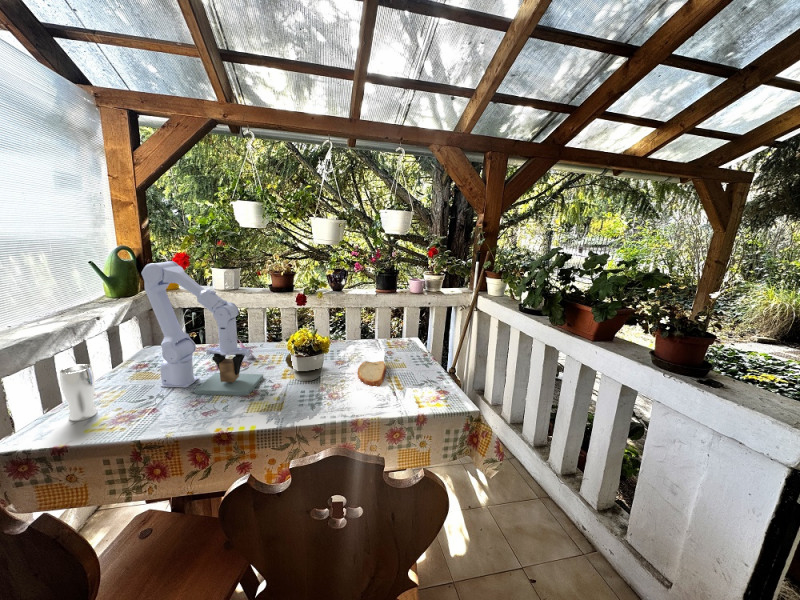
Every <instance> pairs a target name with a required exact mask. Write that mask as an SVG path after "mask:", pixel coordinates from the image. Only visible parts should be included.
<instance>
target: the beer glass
mask: <svg viewBox="0 0 800 600" xmlns="http://www.w3.org/2000/svg"><path fill="white" fill-rule="evenodd" d="M93 372H94V371H93V368H92V365H91V364H88V363H84V364H73V365H71V366H67V367H64V368H61V369H60V370H59V378H60V386H61V390H62V394H63V396H64V398H65V400H66V402H67V404H68V407H69V415H68V419H69V421H72V422H80V421H85V420H88V419H91V418H93V417H94V416H96V415H97V414H98V409H97V407H96V405H95V399H94V397H95V385H96V383H95V376H94V373H93Z"/></svg>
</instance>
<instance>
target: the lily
mask: <svg viewBox="0 0 800 600" xmlns="http://www.w3.org/2000/svg"><path fill="white" fill-rule="evenodd" d="M237 341H239V343H238V345H239V346H240V347H239V348H244V349H250V353H251V354H250V355H251V356H252V357H253V358H254V357H255V355H254V354H252V353H254V351H253V350H252V349H251V348H249V347H250V346H249V345H246V346H245V344H243V343H242V341H241V340H240V339H239V338H238V337H237Z"/></svg>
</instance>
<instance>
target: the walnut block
mask: <svg viewBox="0 0 800 600" xmlns="http://www.w3.org/2000/svg"><path fill="white" fill-rule="evenodd" d="M219 369H220V370H219ZM218 370H219V373H220V380H221V382H234V381H235V380H236V379H237V378H238V377H239V374H240V373H239V374H238V375H235V368H234V363H233V360H232V358H225V359H224V360H223V361H222V362H220V363H219V368H218Z"/></svg>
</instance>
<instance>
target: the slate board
mask: <svg viewBox="0 0 800 600" xmlns="http://www.w3.org/2000/svg"><path fill="white" fill-rule="evenodd" d="M263 379H264V374H262V373H239V377H238V378H237V379H236V380H235V381H234V382H221V380H220V372H214V373H213V375H211V376H209V377H208V378H207V379H206V380H204V382H203V383H201V384H199V385H198V386H197V387H196V388H195V389H194V391H193V392H194V394H195V395H215V396H216V395H217V396H249V395H250V394H251V393H252V391H253V390H254V389H255V388H256V387H257V386H258V385H259V384H260V382H262V380H263Z"/></svg>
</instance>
